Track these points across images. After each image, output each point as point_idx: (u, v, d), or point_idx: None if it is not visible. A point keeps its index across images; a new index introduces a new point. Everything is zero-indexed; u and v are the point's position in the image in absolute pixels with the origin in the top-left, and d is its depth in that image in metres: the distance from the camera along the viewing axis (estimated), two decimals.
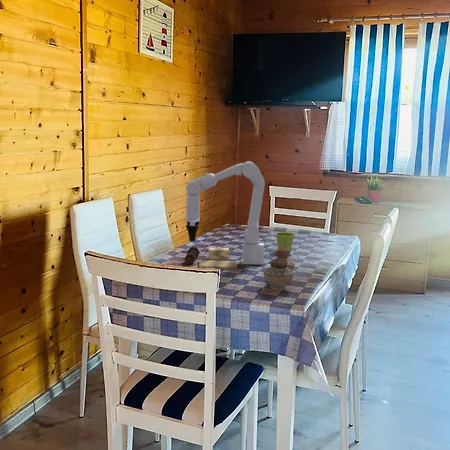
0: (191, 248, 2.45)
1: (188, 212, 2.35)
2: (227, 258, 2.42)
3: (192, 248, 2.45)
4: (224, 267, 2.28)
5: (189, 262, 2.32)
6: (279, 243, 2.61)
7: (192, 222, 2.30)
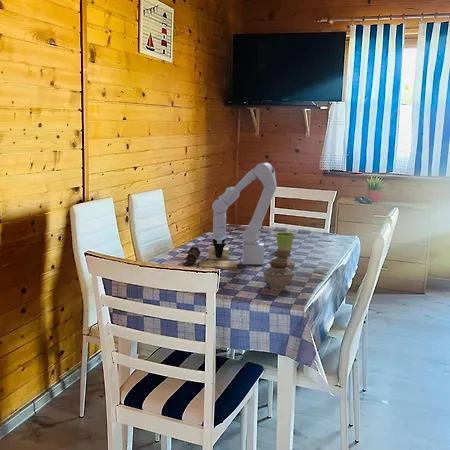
0: (192, 248, 2.45)
1: (215, 230, 2.40)
2: (227, 258, 2.42)
3: (193, 248, 2.45)
4: (224, 267, 2.28)
5: (191, 262, 2.32)
6: (279, 243, 2.61)
7: (219, 240, 2.36)
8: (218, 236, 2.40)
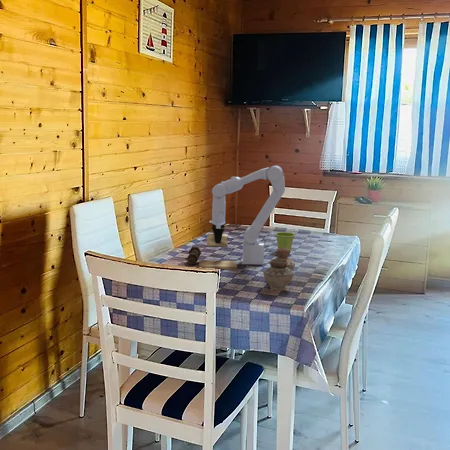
0: (193, 248, 2.45)
1: (214, 215, 2.37)
2: (226, 244, 2.39)
3: (194, 248, 2.45)
4: (224, 267, 2.28)
5: (192, 262, 2.33)
6: (279, 243, 2.61)
7: (218, 225, 2.32)
8: (217, 221, 2.37)
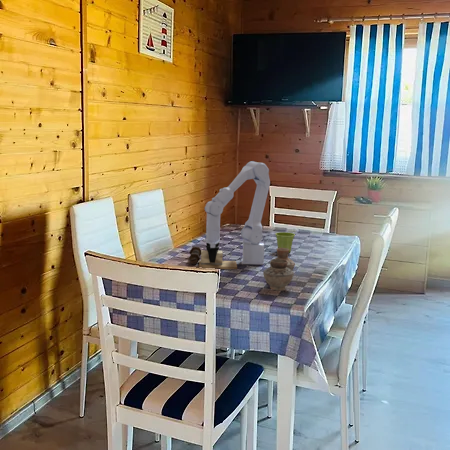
0: (194, 248, 2.45)
1: (208, 233, 2.29)
2: (220, 261, 2.30)
3: (195, 248, 2.45)
4: (224, 267, 2.28)
5: (194, 262, 2.33)
6: (279, 243, 2.61)
7: (213, 244, 2.24)
8: (211, 240, 2.28)
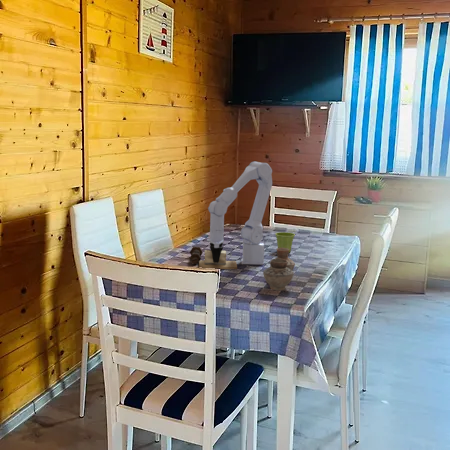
0: (194, 248, 2.46)
1: (212, 233, 2.29)
2: (224, 261, 2.30)
3: (195, 248, 2.46)
4: (224, 267, 2.28)
5: (195, 262, 2.33)
6: (279, 243, 2.61)
7: (216, 244, 2.24)
8: (215, 240, 2.28)
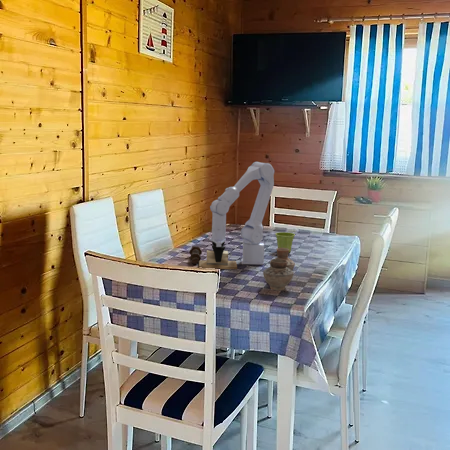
0: (193, 248, 2.46)
1: (214, 232, 2.29)
2: (226, 262, 2.31)
3: (194, 248, 2.46)
4: (224, 267, 2.28)
5: (196, 262, 2.33)
6: (279, 243, 2.61)
7: (219, 243, 2.24)
8: (217, 239, 2.28)
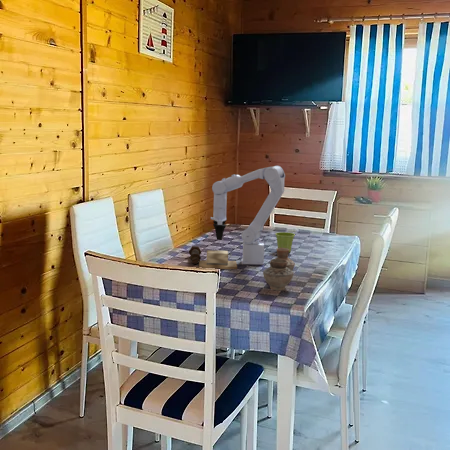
0: (193, 248, 2.46)
1: (215, 211, 2.40)
2: (226, 262, 2.31)
3: (194, 247, 2.46)
4: (224, 267, 2.28)
5: (196, 261, 2.33)
6: (279, 243, 2.61)
7: (220, 221, 2.36)
8: (218, 217, 2.40)
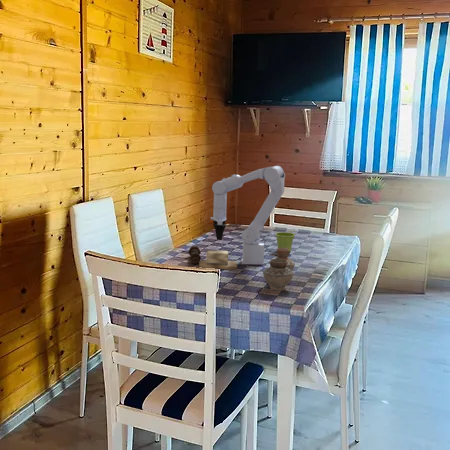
0: (192, 248, 2.46)
1: (215, 211, 2.40)
2: (226, 262, 2.31)
3: (193, 248, 2.46)
4: (224, 267, 2.28)
5: (196, 261, 2.33)
6: (279, 243, 2.61)
7: (220, 221, 2.36)
8: (218, 217, 2.40)
